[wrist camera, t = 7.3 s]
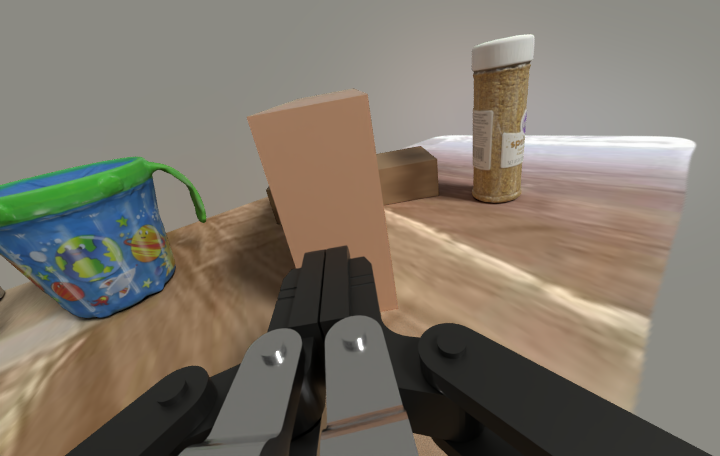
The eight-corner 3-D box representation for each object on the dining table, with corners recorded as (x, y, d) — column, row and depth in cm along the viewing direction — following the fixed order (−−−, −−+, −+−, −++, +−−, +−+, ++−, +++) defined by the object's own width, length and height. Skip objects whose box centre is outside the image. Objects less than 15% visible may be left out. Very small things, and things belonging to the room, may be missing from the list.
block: (314, 323, 18) (246, 116, 12) (326, 216, 32) (297, 99, 27) (398, 309, 18) (367, 93, 12) (373, 208, 32) (353, 88, 26)
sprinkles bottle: (525, 203, 27) (542, 29, 21) (472, 205, 28) (474, 43, 22) (515, 185, 30) (527, 35, 24) (469, 188, 32) (470, 46, 26)
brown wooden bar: (277, 224, 32) (265, 190, 30) (287, 201, 38) (278, 171, 37) (438, 195, 32) (437, 159, 30) (422, 176, 38) (420, 146, 36)
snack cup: (214, 235, 32) (173, 142, 28) (237, 273, 24) (184, 152, 20) (29, 305, 25) (-67, 197, 21) (-25, 393, 17) (-204, 247, 13)
